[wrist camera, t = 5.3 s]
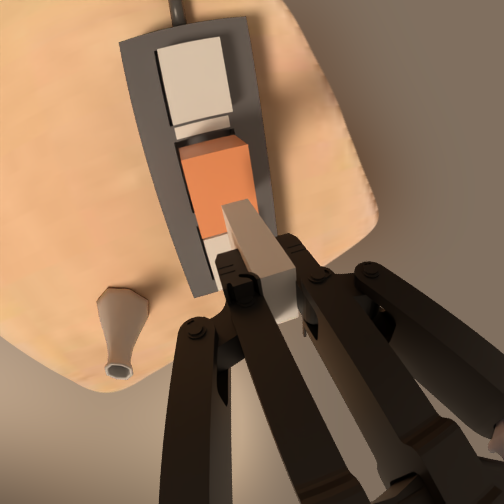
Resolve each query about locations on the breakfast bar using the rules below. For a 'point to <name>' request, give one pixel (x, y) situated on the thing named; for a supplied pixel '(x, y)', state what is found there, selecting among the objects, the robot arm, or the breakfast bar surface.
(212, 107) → the switch
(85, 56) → the breakfast bar surface
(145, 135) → the power strip
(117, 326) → the flask
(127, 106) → the breakfast bar surface
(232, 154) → the switch
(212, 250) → the switch
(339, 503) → the robot arm
